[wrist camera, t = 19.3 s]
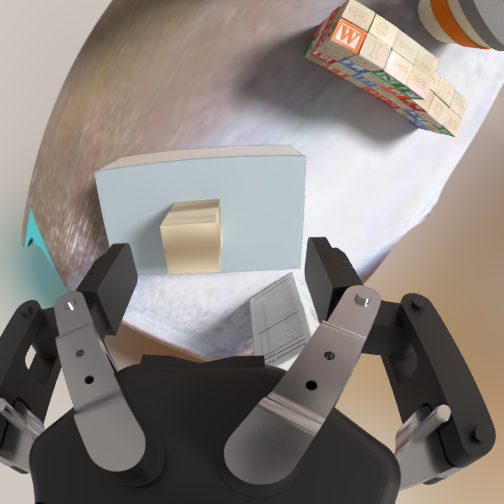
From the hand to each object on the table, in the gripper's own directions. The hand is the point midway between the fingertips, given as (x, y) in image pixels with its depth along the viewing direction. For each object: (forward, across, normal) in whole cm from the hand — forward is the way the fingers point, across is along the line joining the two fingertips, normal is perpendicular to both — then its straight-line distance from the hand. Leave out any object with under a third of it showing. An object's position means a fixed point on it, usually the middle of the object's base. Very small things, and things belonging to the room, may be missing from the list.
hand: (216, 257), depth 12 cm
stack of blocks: (+29, -21, -12) cm, 37 cm away
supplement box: (+27, -8, +27) cm, 39 cm away
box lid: (+19, +4, +7) cm, 21 cm away
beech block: (+18, +4, +7) cm, 20 cm away
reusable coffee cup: (+29, -34, -26) cm, 52 cm away
